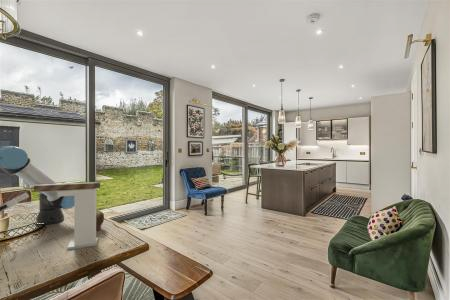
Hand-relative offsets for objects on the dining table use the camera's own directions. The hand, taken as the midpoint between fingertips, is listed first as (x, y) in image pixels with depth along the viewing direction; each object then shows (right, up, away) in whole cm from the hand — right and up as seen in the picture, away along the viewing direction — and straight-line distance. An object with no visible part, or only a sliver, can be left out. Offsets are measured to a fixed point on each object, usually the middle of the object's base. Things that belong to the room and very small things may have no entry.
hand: (21, 197), depth 108 cm
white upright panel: (+20, -27, +10) cm, 36 cm away
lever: (+18, +3, +8) cm, 20 cm away
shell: (+17, -27, +31) cm, 44 cm away
